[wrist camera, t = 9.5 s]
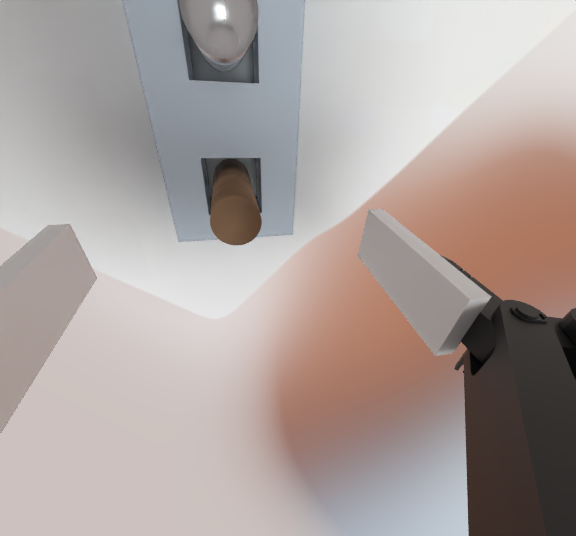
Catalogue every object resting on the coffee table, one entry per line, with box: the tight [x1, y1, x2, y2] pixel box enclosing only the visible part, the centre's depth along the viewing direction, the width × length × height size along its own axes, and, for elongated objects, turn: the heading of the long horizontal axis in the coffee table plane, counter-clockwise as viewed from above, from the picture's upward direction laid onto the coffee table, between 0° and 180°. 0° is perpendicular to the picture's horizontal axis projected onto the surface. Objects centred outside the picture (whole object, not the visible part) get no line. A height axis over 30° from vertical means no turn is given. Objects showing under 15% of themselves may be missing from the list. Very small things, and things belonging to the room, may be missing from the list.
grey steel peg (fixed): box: [179, 0, 259, 71], centre depth 14 cm, size 3×3×10 cm
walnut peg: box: [210, 159, 262, 245], centre depth 19 cm, size 3×3×10 cm
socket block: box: [122, 0, 305, 242], centre depth 19 cm, size 18×10×4 cm, turn 178°
